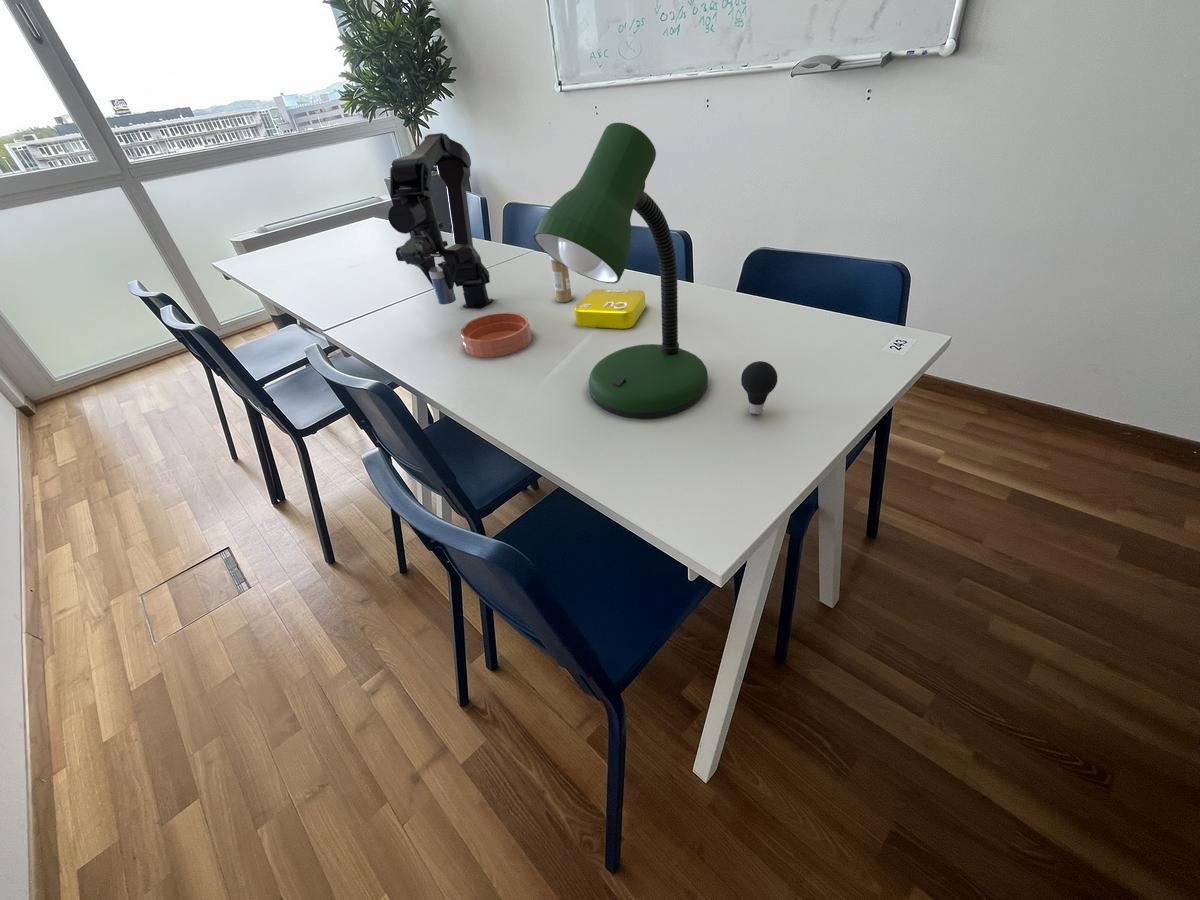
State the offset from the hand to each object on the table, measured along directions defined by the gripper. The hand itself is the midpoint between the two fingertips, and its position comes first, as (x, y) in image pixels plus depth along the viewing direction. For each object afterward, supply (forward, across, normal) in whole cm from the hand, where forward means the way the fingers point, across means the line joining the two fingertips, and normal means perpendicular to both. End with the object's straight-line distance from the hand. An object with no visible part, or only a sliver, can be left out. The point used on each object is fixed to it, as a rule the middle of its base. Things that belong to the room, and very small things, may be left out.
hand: (443, 288), depth 126 cm
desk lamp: (+12, +56, -17) cm, 60 cm away
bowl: (+12, +15, -3) cm, 19 cm away
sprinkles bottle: (+12, +18, +26) cm, 34 cm away
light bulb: (+12, +79, -17) cm, 82 cm away
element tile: (+12, +36, +18) cm, 42 cm away
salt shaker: (+3, 0, 0) cm, 3 cm away
